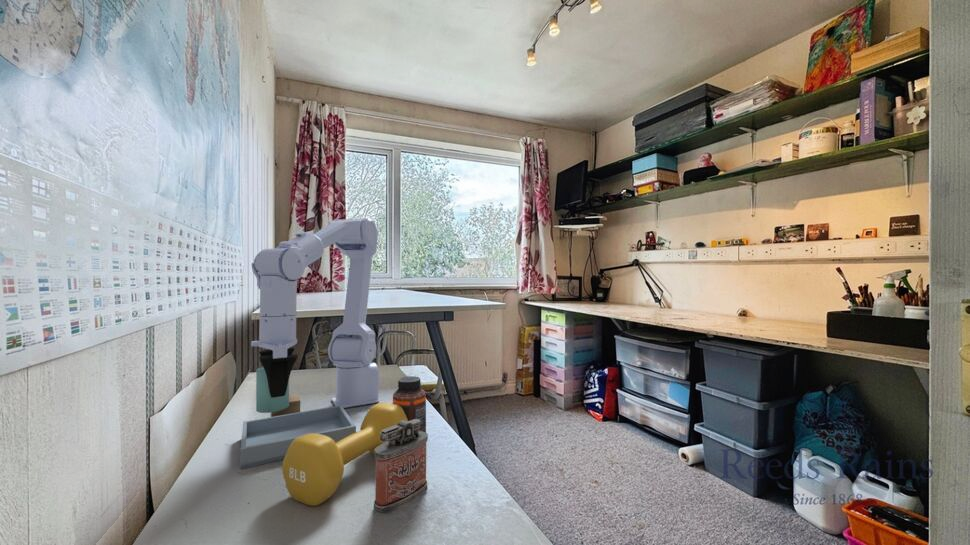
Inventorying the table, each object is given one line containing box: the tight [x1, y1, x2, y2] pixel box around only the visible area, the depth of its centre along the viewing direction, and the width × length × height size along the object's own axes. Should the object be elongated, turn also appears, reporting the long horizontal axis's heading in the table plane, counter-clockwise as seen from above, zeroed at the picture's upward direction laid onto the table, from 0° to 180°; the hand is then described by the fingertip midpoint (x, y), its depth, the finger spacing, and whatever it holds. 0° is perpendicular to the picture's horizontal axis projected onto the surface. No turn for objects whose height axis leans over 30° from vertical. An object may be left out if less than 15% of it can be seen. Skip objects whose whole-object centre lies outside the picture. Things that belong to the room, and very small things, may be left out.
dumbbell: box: [281, 402, 408, 507], centre depth 56 cm, size 19×9×8 cm, turn 153°
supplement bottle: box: [392, 375, 427, 433], centre depth 67 cm, size 6×6×11 cm
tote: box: [240, 405, 357, 470], centre depth 67 cm, size 17×13×3 cm
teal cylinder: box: [255, 366, 290, 414], centre depth 65 cm, size 5×5×7 cm
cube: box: [270, 393, 301, 417], centre depth 75 cm, size 5×5×5 cm
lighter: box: [373, 419, 429, 515], centre depth 49 cm, size 8×3×10 cm, turn 141°
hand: (277, 392), depth 65 cm, fingers closed on teal cylinder, 5 cm apart
